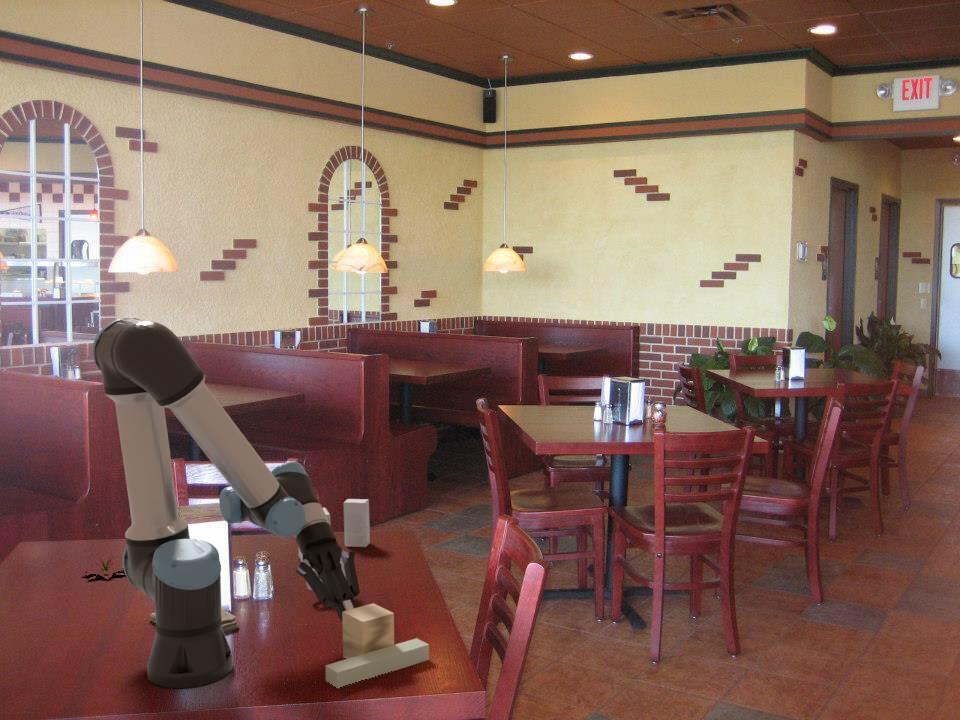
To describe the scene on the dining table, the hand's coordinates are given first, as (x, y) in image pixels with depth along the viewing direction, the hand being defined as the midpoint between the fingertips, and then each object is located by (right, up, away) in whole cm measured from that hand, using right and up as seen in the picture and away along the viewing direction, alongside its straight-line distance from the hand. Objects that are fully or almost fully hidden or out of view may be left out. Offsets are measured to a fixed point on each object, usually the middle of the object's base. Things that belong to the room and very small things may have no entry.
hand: (357, 632), depth 191 cm
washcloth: (-36, -3, +14) cm, 38 cm away
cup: (-11, 0, +31) cm, 33 cm away
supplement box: (-18, +2, +57) cm, 60 cm away
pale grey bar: (+5, -4, -9) cm, 11 cm away
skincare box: (-9, +4, +70) cm, 71 cm away
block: (+3, -4, -4) cm, 6 cm away
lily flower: (-66, +1, +47) cm, 81 cm away
